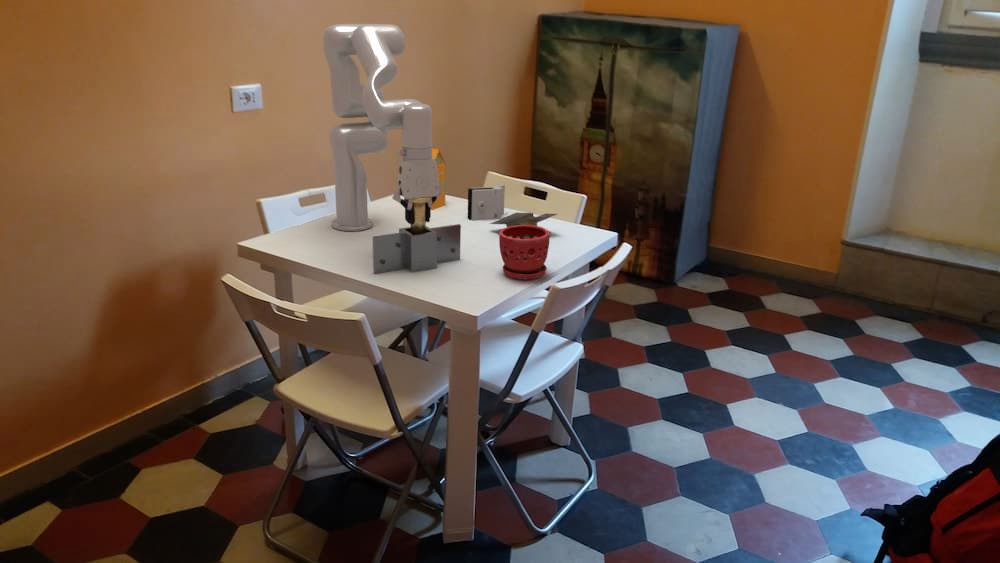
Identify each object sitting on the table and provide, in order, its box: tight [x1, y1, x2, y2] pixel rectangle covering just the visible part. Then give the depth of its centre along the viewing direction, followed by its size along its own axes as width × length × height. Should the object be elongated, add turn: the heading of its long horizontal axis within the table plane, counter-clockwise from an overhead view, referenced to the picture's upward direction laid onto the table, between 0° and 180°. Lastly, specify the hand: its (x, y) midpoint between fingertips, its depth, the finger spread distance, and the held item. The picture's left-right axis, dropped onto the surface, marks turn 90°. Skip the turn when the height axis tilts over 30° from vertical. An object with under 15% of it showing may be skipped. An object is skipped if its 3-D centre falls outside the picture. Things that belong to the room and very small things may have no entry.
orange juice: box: [431, 147, 447, 211], centre depth 264 cm, size 8×9×20 cm
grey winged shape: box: [490, 212, 558, 237], centre depth 239 cm, size 16×9×15 cm
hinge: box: [467, 184, 506, 222], centre depth 255 cm, size 14×5×10 cm, turn 119°
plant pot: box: [498, 225, 550, 281], centre depth 206 cm, size 13×13×12 cm
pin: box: [405, 197, 431, 235], centre depth 206 cm, size 7×7×11 cm
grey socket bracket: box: [372, 223, 462, 275], centre depth 209 cm, size 8×26×10 cm, turn 122°
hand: (417, 221), depth 207 cm, fingers closed on pin, 4 cm apart
